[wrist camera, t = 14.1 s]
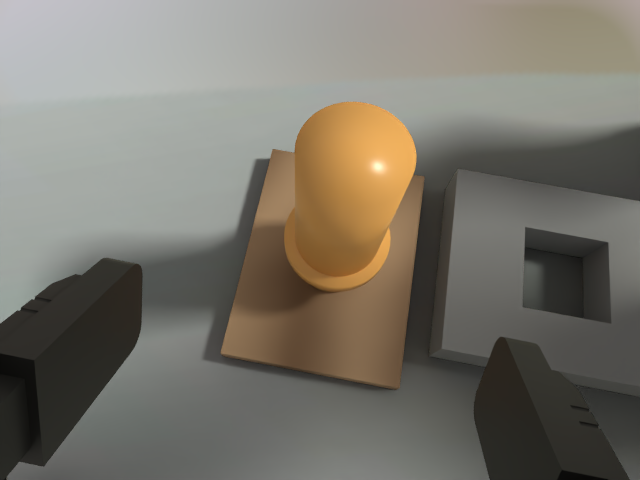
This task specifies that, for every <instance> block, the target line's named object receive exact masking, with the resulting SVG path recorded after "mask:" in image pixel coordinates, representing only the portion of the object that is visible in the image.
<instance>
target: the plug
mask: <svg viewBox="0 0 640 480" xmlns="http://www.w3.org/2000/svg"><path fill="white" fill-rule="evenodd" d="M415 166H416V149H415V145H414V142H413V139H412V137H411V135H410V133H409V132H408V130H407V128H406V127H405V126H404V125H403V123H402V122H400V121H399V120H398V119H397V118H396V117H395V116H394V115H392V114H391V113H389V112H388V111H386V110H384V109H382V108H380V107H377V106H374V105H371V104H367V103H361V102H343V103H338V104H333V105H330V106H328V107H325V108H323V109H321V110H319V111H318V112H316V113H315V114H314V115H312V116H311V117H310V118H309V119H308V120H307V121H306V122H305V124H304V125H303V127H302V128H301V130H300V132H299V134H298V136H297V140H296V143H295V207H294V208H293V210H292V211H291V213H290V214H289V217H288V219H287V222H286V225H285V231H284V244H285V252H286V255H287V258H288V261H289V263H290V265H291V266H292V268H293V270H294V271H295V272H296V273H297V274H298V276H300V277H301V278H302V279H303V280H304V281H306V282H307V283H308V284H310V285H312V286H313V287H314V288H316V289H318V290H321V291H324V292H329V293H337V292H343V291H350V290H353V289H356V288H359V287H361V286H363V285H364V284H366V283H368V282H369V281H370V280H371V279H373V278H374V277H375V276H376V274H377V273H378V272H379V271H380V269H381V268H382V266H383V264H384V262H385V260H386V258H387V256H388V253H389V249H390V240H391V237H390V229H389V226H390V224H391V222H392V219H393V217H394V215H395V213H396V211H397V209H398V207H399V204H400V202H401V200H402V198H403V196H404V194H405V191H406V189H407V187H408V185H409V183H410V181H411V179H412V176H413V174H414V171H415Z"/></svg>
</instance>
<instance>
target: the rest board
mask: <svg viewBox="0 0 640 480" xmlns="http://www.w3.org/2000/svg"><path fill="white" fill-rule="evenodd" d="M423 186H424V176H418V175H413V176H412V179H411V181H410V183H409V185H408V187H407V189H406V191H405V194H404V196H403V198H402V200H401V202H400V204H399V207H398V209H397V211H396V213H395V215H394V217H393V219H392V222H391V224H390V226H389V229H390V237H391V240H390V249H389V253H388V256H387V258H386V260H385V262H384V264H383V266H382V268H381V269H380V271H379V272H378V273H377V274H376V276H375V277H374V278H373V279H371V280H370V281H369V282H368V283H366V284H364V285H363V286H361V287H359V288H356V289H353V290H350V291H343V292H337V293H329V292H324V291H321V290H318V289H316V288H314V287H313V286H312V285H310V284H308V283H307V282H306V281H304V280H303V279H302V278H301V277H300V276H298V274H297V273H296V272H295V271H294V270H293V268H292V266H291V265H290V263H289V261H288V258H287V255H286V252H285V244H284V231H285V225H286V222H287V219H288V217H289V214H290V213H291V211H292V210H293V208H294V207H295V153H292V152H287V151H281V150H276V149H273V150H272V154H271V158H270V162H269V166H268V169H267V173H266V177H265V181H264V185H263V189H262V193H261V197H260V201H259V205H258V208H257V212H256V216H255V220H254V224H253V228H252V232H251V236H250V240H249V244H248V247H247V251H246V255H245V259H244V263H243V267H242V271H241V275H240V279H239V283H238V286H237V290H236V294H235V298H234V302H233V306H232V310H231V314H230V318H229V322H228V325H227V329H226V333H225V337H224V341H223V345H222V349H221V354H222V355H223V356H225V357H230V358H235V359H240V360H245V361H250V362H256V363H261V364H266V365H271V366H276V367H281V368H286V369H291V370H297V371H302V372H307V373H312V374H317V375H322V376H327V377H332V378H338V379H343V380H348V381H353V382H358V383H363V384H368V385H374V386H379V387H384V388H389V389H394V390H396V389H399V388H400V379H401V371H402V362H403V354H404V346H405V337H406V329H407V320H408V312H409V304H410V295H411V287H412V278H413V270H414V262H415V253H416V245H417V236H418V228H419V219H420V211H421V203H422V194H423Z"/></svg>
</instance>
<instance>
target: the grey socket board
mask: <svg viewBox="0 0 640 480" xmlns="http://www.w3.org/2000/svg"><path fill="white" fill-rule="evenodd" d="M525 247H527V248H532V249H538V250H543V251H548V252H554V253H559V254H564V255H570V256H575V257H581V258H583V310H584V319H583V318H578V317H573V316H567V315H562V314H557V313H552V312H546V311H541V310H536V309H530V308H525V307H523V281H524V249H525ZM499 337H506V338H512V339H517V340H522V341H527V342H532V343H536V344H537V345H538V346H539V347H540V349H541V351H542V353H543V355H544V357H545V358H546V360H547V362H548V364H549V366H550V368H551V370H555V371H559V372H560V373H561V374H562V375H563V376H564V377H566V378H567V379H568V380H569V381H570V382H571V383H572V384H576V385H581V386H586V387H591V388H596V389H602V390H607V391H612V392H617V393H622V394H627V395H633V396H638V397H640V201H635V200H630V199H624V198H619V197H613V196H608V195H602V194H597V193H591V192H586V191H580V190H575V189H569V188H564V187H558V186H553V185H547V184H542V183H536V182H531V181H525V180H520V179H514V178H508V177H503V176H497V175H492V174H486V173H481V172H475V171H470V170H464V169H459V168H458V169H457V171H456V173H455V174H454V176H453V177H452V179H451V181H450V182H449V184H448V186H447V187H446V189H445V198H444V208H443V218H442V228H441V238H440V248H439V258H438V268H437V278H436V288H435V298H434V308H433V318H432V328H431V338H430V348H429V356H430V357H435V358H441V359H446V360H451V361H456V362H461V363H467V364H472V365H477V366H482V367H486V365H487V363H488V360H489V357H490V355H491V352H492V349H493V347H494V344H495V342H496V341H497V339H498V338H499Z"/></svg>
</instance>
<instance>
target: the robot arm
mask: <svg viewBox="0 0 640 480" xmlns="http://www.w3.org/2000/svg"><path fill="white" fill-rule="evenodd" d="M141 317H142V269H141V266H140V265H139V264H135V263H130V262H125V261H120V260H115V259H110V258H103V259H102V260H100V261H99V262H98V263H97V264H95V265H94V266H93V267H92V268H91V269H89V270H88V271H87V272H86V273H84V274H83V275H82V276H81V275H76V274H75V275H73V276H70V277H68V278H65V279H63V280H60V281H58V282H55V283H53V284H51V285H50V286H48V287H47V288H46V289H45V290H43V291H42V292H41V293H39V294H38V295H37V296H36V297H35V299H34V300H33V299H32V300H30V301H29V302H28V303H26V304H25V305H24V306H23V307H21V310H20V311H18V310H17V311H16V312H15V313H14V314H12V315H11V316H10V317H8V318H7V319H6V320H5V321H3V322H2V323H1V324H0V480H8V477H7V476H8V474H9V473H10V472H11V471H12V470H13V468H14V467H15V466H16V465H17V464H18V462H24V463H29V464H34V465H38V466H43V467H44V465H45V464H46V463H47V462H48V460H49V459H50V458H51V456H52V455H53V454H54V452H55V451H56V450H57V448H58V447H59V446H60V445H61V443H62V442H63V441H64V439H65V438H66V437H67V435H68V434H69V433H70V432H71V430H72V429H73V428H74V426H75V425H76V424H77V422H78V421H79V420H80V418H81V417H82V416H83V415H84V413H85V412H86V411H87V409H88V408H89V407H90V405H91V404H92V403H93V401H94V400H95V399H96V398H97V396H98V395H99V394H100V392H101V391H102V390H103V388H104V387H105V386H106V384H107V383H108V382H109V381H110V379H111V378H112V377H113V375H114V374H115V373H116V371H117V370H118V369H119V367H120V366H121V365H122V364H123V362H124V361H125V360H126V358H127V357H128V356H129V354H130V353H131V352H132V350H133V349H134V347H135V345H136V343H137V340H138V337H139V334H140V330H141ZM474 419H475V424H476V428H477V432H478V436H479V439H480V443H481V447H482V451H483V455H484V459H485V463H486V466H487V470H488V474H489V478H490V480H630V479H629V477H628V476H627V474H626V472H625V470H624V469H623V467H622V465H621V463H620V462H619V460H618V458H617V457H616V455H615V453H614V451H613V450H612V448H611V446H610V444H609V443H608V441H607V439H606V437H605V436H604V434H603V432H602V430H601V429H598V423H597V422H596V420H595V418H594V416H593V415H592V413H590V412H589V408H588V406H587V404H586V402H585V401H584V399H583V397H582V395H581V394H580V392H579V390H578V389H577V388H576V387H575V386H574V385H573V384H572V383H571V382H570V381H569V380H568V379H567V378H566V377H564V376H563V375H562V374H561V373H560V372H559V371H555V370H551V368H550V366H549V364H548V362H547V360H546V358H545V357H544V355H543V353H542V351H541V349H540V347H539V346H538V345H537V344H536V343H532V342H527V341H522V340H517V339H512V338H506V337H499V338H498V339H497V341H496V342H495V344H494V347H493V349H492V352H491V355H490V357H489V360H488V363H487V365H486V368H485V371H484V373H483V376H482V379H481V381H480V384H479V387H478V390H477V393H476V396H475V402H474Z"/></svg>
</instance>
